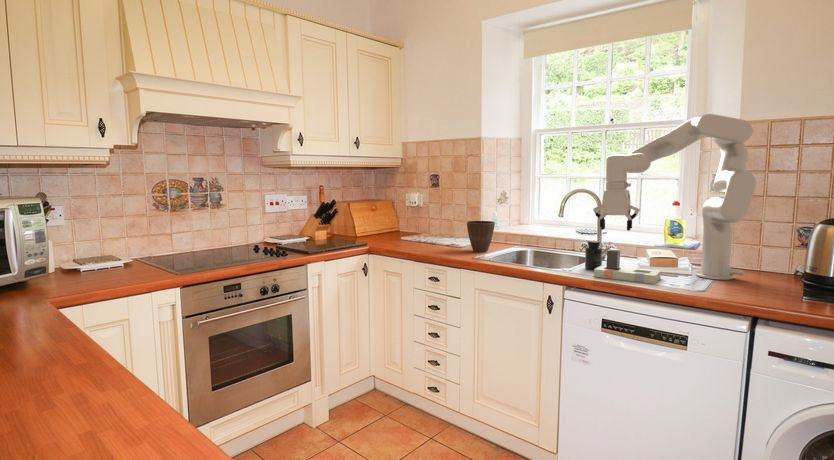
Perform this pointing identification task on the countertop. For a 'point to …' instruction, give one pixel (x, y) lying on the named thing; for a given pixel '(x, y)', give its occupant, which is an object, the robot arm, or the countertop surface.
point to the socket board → (628, 274)
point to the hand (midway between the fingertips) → (615, 229)
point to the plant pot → (480, 234)
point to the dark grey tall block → (613, 259)
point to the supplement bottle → (593, 255)
